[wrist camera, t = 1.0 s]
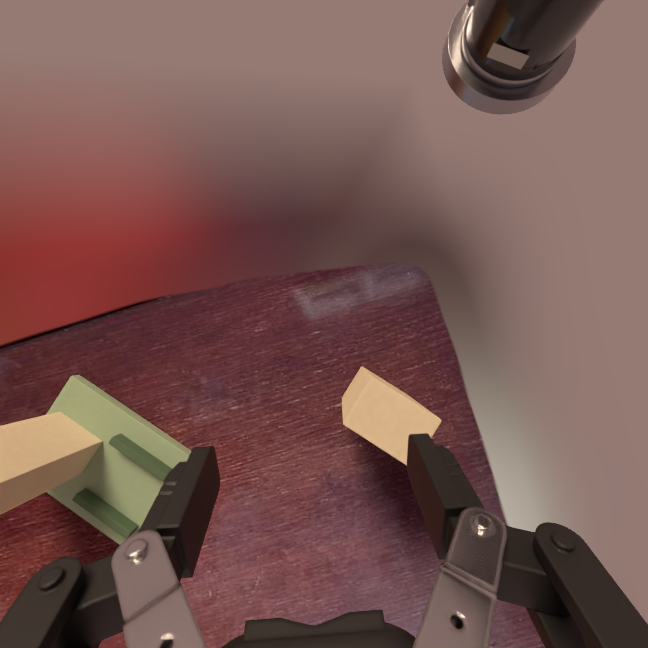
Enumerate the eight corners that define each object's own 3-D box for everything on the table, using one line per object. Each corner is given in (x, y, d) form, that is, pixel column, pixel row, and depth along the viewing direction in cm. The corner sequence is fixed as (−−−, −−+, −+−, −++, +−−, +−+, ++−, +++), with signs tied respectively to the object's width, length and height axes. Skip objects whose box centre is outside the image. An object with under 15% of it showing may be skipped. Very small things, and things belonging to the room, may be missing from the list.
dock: (79, 374, 32) (-59, 390, 21) (198, 455, 31) (120, 517, 20) (21, 463, 31) (-149, 528, 20) (140, 548, 30) (27, 663, 19)
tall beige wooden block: (361, 365, 30) (372, 376, 21) (408, 395, 30) (442, 420, 20) (341, 398, 30) (342, 424, 20) (388, 427, 30) (412, 469, 20)
